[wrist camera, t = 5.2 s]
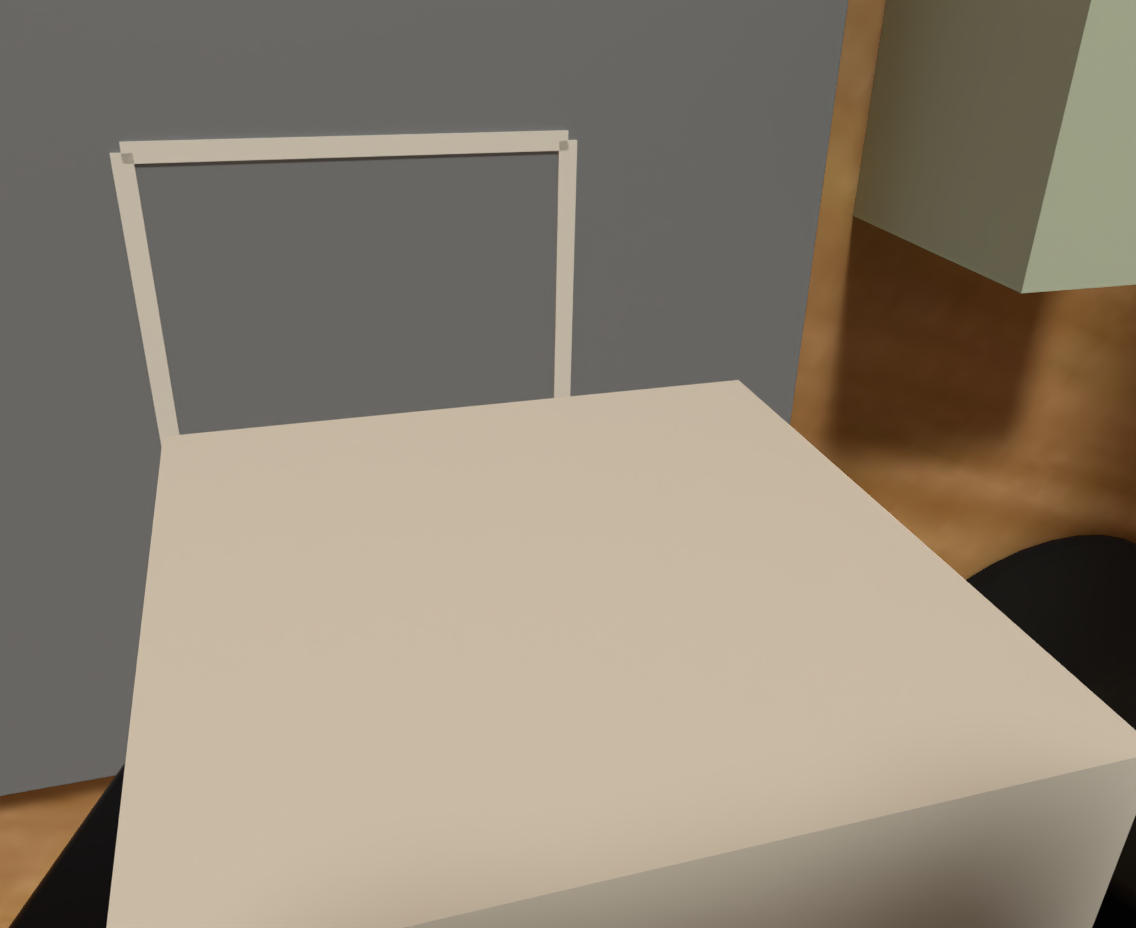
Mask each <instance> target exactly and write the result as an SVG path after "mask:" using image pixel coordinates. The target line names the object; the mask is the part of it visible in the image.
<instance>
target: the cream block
mask: <svg viewBox="0 0 1136 928" xmlns="http://www.w3.org/2000/svg"><path fill="white" fill-rule="evenodd" d="M1135 815H1136V730H1135V729H1134V728H1133V727H1131V726H1130V725H1129V724H1128V723H1127V722H1126V721H1125V720H1123V719H1122V718H1121V717H1120V716H1119V715H1118V714H1117V713H1116V712H1114V711H1113V710H1112V709H1111V708H1110V707H1109V706H1108V705H1106V704H1105V703H1104V702H1103V701H1102V700H1101V699H1100V698H1099V697H1097V696H1096V695H1095V694H1094V693H1093V692H1092V691H1091V690H1089V689H1088V688H1087V687H1086V686H1085V685H1084V684H1083V683H1082V682H1080V681H1079V680H1078V679H1077V678H1076V677H1075V676H1074V675H1072V674H1071V673H1070V672H1069V671H1068V670H1067V669H1066V668H1065V667H1063V666H1062V665H1061V664H1060V663H1059V662H1058V661H1057V660H1055V659H1054V658H1053V657H1052V656H1051V655H1050V654H1049V653H1048V652H1046V651H1045V650H1044V649H1043V648H1042V647H1041V646H1040V645H1038V644H1037V643H1036V642H1035V641H1034V640H1033V639H1032V638H1031V637H1029V636H1028V635H1027V634H1026V633H1025V632H1024V631H1023V630H1021V629H1020V628H1019V627H1018V626H1017V625H1016V624H1015V623H1014V622H1012V621H1011V620H1010V619H1009V618H1008V617H1007V616H1006V615H1004V614H1003V613H1002V612H1001V611H1000V610H999V609H998V608H996V607H995V606H994V605H993V604H992V603H991V602H990V601H989V600H987V599H986V598H985V597H984V596H983V595H982V594H981V593H979V592H978V591H977V590H976V589H975V588H974V587H973V586H972V585H970V584H969V583H968V582H967V581H966V580H965V579H964V578H962V577H961V576H960V575H959V574H958V573H957V572H956V571H955V570H953V569H952V568H951V567H950V566H949V565H948V564H947V563H945V562H944V561H943V560H942V559H941V558H940V557H939V556H938V555H936V554H935V553H934V552H933V551H932V550H931V549H930V548H928V547H927V546H926V545H925V544H924V543H923V542H922V541H921V540H919V539H918V538H917V537H916V536H915V535H914V534H913V533H911V532H910V531H909V530H908V529H907V528H906V527H905V526H904V525H902V524H901V523H900V522H899V521H898V520H897V519H896V518H894V517H893V516H892V515H891V514H890V513H889V512H888V511H887V510H885V509H884V508H883V507H882V506H881V505H880V504H879V503H877V502H876V501H875V500H874V499H873V498H872V497H871V496H870V495H868V494H867V493H866V492H865V491H864V490H863V489H862V488H860V487H859V486H858V485H857V484H856V483H855V482H854V481H853V480H851V479H850V478H849V477H848V476H847V475H846V474H845V473H843V472H842V471H841V470H840V469H839V468H838V467H837V466H836V465H834V464H833V463H832V462H831V461H830V460H829V459H828V458H826V457H825V456H824V455H823V454H822V453H821V452H820V451H819V450H817V449H816V448H815V447H814V446H813V445H812V444H811V443H809V442H808V441H807V440H806V439H805V438H804V437H803V436H802V435H800V434H799V433H798V432H797V431H796V430H795V429H794V428H792V427H791V426H790V425H789V424H788V423H787V422H786V421H785V420H783V419H782V418H781V417H780V416H779V415H778V414H777V413H775V412H774V411H773V410H772V409H771V408H770V407H769V406H768V405H766V404H765V403H764V402H763V401H762V400H761V399H760V398H758V397H757V396H756V395H755V394H754V393H753V392H752V391H751V390H749V389H748V388H747V387H746V386H745V385H744V384H743V383H741V382H740V381H739V380H732V381H722V382H712V383H702V384H692V385H681V386H671V387H661V388H651V389H641V390H631V391H620V392H610V393H600V394H590V395H580V396H570V397H559V398H549V399H539V400H529V401H519V402H508V403H498V404H488V405H478V406H468V407H458V408H447V409H437V410H427V411H417V412H407V413H397V414H386V415H376V416H366V417H356V418H346V419H336V420H325V421H315V422H305V423H295V424H285V425H275V426H264V427H254V428H244V429H234V430H224V431H214V432H203V433H193V434H183V435H173V436H163V440H162V449H161V458H160V466H159V475H158V484H157V492H156V501H155V510H154V518H153V527H152V536H151V544H150V553H149V562H148V570H147V579H146V588H145V596H144V605H143V614H142V622H141V631H140V640H139V648H138V657H137V666H136V675H135V683H134V692H133V701H132V709H131V718H130V727H129V735H128V744H127V753H126V761H125V770H124V779H123V787H122V796H121V805H120V813H119V822H118V831H117V839H116V848H115V857H114V865H113V874H112V883H111V891H110V900H109V909H108V917H107V926H106V928H1092V927H1093V924H1094V922H1095V919H1096V916H1097V914H1098V911H1099V909H1100V906H1101V903H1102V901H1103V898H1104V896H1105V893H1106V890H1107V888H1108V885H1109V883H1110V880H1111V877H1112V875H1113V872H1114V870H1115V867H1116V864H1117V862H1118V859H1119V857H1120V854H1121V852H1122V849H1123V846H1124V844H1125V841H1126V839H1127V836H1128V833H1129V831H1130V828H1131V826H1132V823H1133V820H1134V818H1135Z"/></svg>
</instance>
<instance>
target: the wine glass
mask: <svg viewBox="0 0 1136 928" xmlns="http://www.w3.org/2000/svg"><path fill="white" fill-rule="evenodd" d="M966 581H967V582H968V583H969V584H970V585H972V586H973V587H974V588H975V589H976V590H977V591H978V592H979V593H981V594H982V595H983V596H984V597H985V598H986V599H987V600H989V601H990V602H991V603H992V604H993V605H994V606H995V607H996V608H998V609H999V610H1000V611H1001V612H1002V613H1003V614H1004V615H1006V616H1007V617H1008V618H1009V619H1010V620H1011V621H1012V622H1014V623H1015V624H1016V625H1017V626H1018V627H1019V628H1020V629H1021V630H1023V631H1024V632H1025V633H1026V634H1027V635H1028V636H1029V637H1031V638H1032V639H1033V640H1034V641H1035V642H1036V643H1037V644H1038V645H1040V646H1041V647H1042V648H1043V649H1044V650H1045V651H1046V652H1048V653H1049V654H1050V655H1051V656H1052V657H1053V658H1054V659H1055V660H1057V661H1058V662H1059V663H1060V664H1061V665H1062V666H1063V667H1065V668H1066V669H1067V670H1068V671H1069V672H1070V673H1071V674H1072V675H1074V676H1075V677H1076V678H1077V679H1078V680H1079V681H1080V682H1082V683H1083V684H1084V685H1085V686H1086V687H1087V688H1088V689H1089V690H1091V691H1092V692H1093V693H1094V694H1095V695H1096V696H1097V697H1099V698H1100V699H1101V700H1102V701H1103V702H1104V703H1105V704H1106V705H1108V706H1109V707H1110V708H1111V709H1112V710H1113V711H1114V712H1116V713H1117V714H1118V715H1119V716H1120V717H1121V718H1122V719H1123V720H1125V721H1126V722H1127V723H1128V724H1129V725H1130V726H1131V727H1133V728H1134V729H1135V730H1136V544H1135V543H1133V542H1130V541H1128V540H1126V539H1121V538H1115V537H1110V536H1104V535H1090V536H1074V537H1068V538H1063V539H1058V540H1052V541H1049V542H1045V543H1042V544H1039V545H1036V546H1033V547H1030V548H1027V549H1024V550H1021V551H1019V552H1017V553H1015V554H1013V555H1011V556H1008V557H1006V558H1004V559H1002V560H1000V561H998V562H996V563H994V564H992V565H990V566H988V567H987V568H985V569H984V570H982V571H980V572H979V573H977V574H975V575H974V576H972V577H970V578H969V579H967V580H966Z"/></svg>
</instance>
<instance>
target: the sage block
mask: <svg viewBox="0 0 1136 928" xmlns="http://www.w3.org/2000/svg"><path fill="white" fill-rule="evenodd" d="M853 216H854V217H856V218H859V219H861V220H863V221H865V222H867V223H869V224H872V225H874V226H876V227H878V228H880V229H882V230H885V231H887V232H889V233H891V234H893V235H895V236H898V237H900V238H902V239H904V240H906V241H908V242H911V243H913V244H915V245H917V246H919V247H922V248H924V249H926V250H928V251H930V252H932V253H935V254H937V255H939V256H941V257H943V258H945V259H948V260H950V261H952V262H954V263H956V264H958V265H961V266H963V267H965V268H967V269H969V270H971V271H974V272H976V273H978V274H980V275H982V276H984V277H987V278H989V279H991V280H993V281H995V282H997V283H1000V284H1002V285H1004V286H1006V287H1008V288H1010V289H1013V290H1015V291H1017V292H1019V293H1033V292H1046V291H1059V290H1072V289H1085V288H1098V287H1111V286H1124V285H1136V0H886V4H885V11H884V17H883V24H882V30H881V37H880V43H879V50H878V56H877V63H876V69H875V76H874V82H873V89H872V95H871V102H870V108H869V114H868V121H867V127H866V134H865V140H864V147H863V153H862V160H861V166H860V173H859V179H858V186H857V192H856V199H855V205H854V212H853Z"/></svg>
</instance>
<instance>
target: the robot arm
mask: <svg viewBox="0 0 1136 928" xmlns="http://www.w3.org/2000/svg"><path fill="white" fill-rule="evenodd" d="M124 770H125V763H124V764H123V766H122V767H121V769H120V770H119V772H118V773H117V774H116V776H115V777H114V779H113V780H112V782H111V783H110V784H109V786H108V787H107V789H106V790H105V791H104V793H103V794H102V796H101V797H100V799H99V800H98V801H97V803H96V804H95V806H94V807H93V808H92V810H91V811H90V813H89V814H88V816H87V817H86V818H85V820H84V821H83V823H82V824H81V826H80V827H79V828H78V830H77V831H76V833H75V834H74V835H73V837H72V838H71V840H70V841H69V843H68V844H67V845H66V847H65V848H64V850H63V851H62V852H61V854H60V855H59V857H58V858H57V860H56V861H55V862H54V864H53V865H52V867H51V868H50V870H49V871H48V872H47V874H46V875H45V877H44V878H43V879H42V881H41V882H40V884H39V885H38V887H37V888H36V889H35V891H34V892H33V894H32V895H31V897H30V898H29V899H28V901H27V902H26V904H25V905H24V906H23V908H22V909H21V911H20V912H19V914H18V915H17V916H16V918H15V919H14V921H13V922H12V923H11V925H10V926H9V928H106V926H107V917H108V909H109V900H110V891H111V883H112V874H113V865H114V857H115V848H116V839H117V831H118V822H119V813H120V805H121V796H122V787H123V779H124ZM1092 928H1136V815H1135V818H1134V820H1133V823H1132V826H1131V828H1130V831H1129V833H1128V836H1127V839H1126V841H1125V844H1124V846H1123V849H1122V852H1121V854H1120V857H1119V859H1118V862H1117V864H1116V867H1115V870H1114V872H1113V875H1112V877H1111V880H1110V883H1109V885H1108V888H1107V890H1106V893H1105V896H1104V898H1103V901H1102V903H1101V906H1100V909H1099V911H1098V914H1097V916H1096V919H1095V922H1094V924H1093V927H1092Z"/></svg>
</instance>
